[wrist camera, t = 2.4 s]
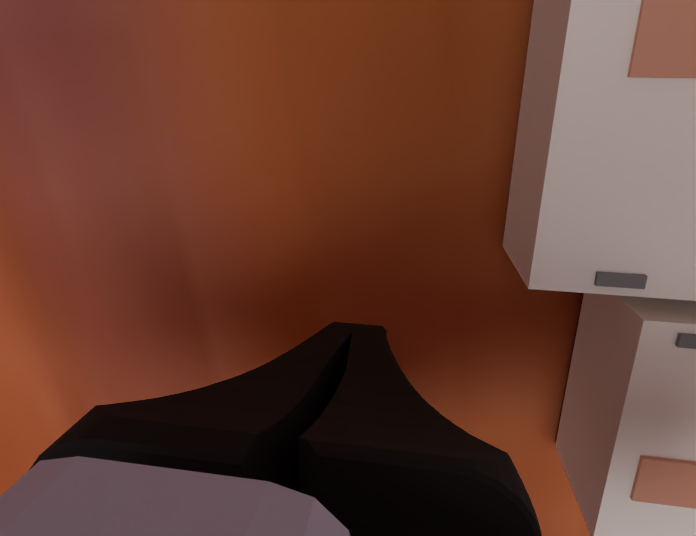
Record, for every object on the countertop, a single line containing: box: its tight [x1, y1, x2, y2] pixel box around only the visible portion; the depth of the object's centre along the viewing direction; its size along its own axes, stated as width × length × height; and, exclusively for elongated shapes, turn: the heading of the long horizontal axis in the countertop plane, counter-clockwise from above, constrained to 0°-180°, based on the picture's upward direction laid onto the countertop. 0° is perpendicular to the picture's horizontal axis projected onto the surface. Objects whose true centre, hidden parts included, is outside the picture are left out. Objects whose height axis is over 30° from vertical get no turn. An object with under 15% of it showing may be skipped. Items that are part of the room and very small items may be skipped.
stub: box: [555, 293, 696, 536], centre depth 10 cm, size 4×5×3 cm
